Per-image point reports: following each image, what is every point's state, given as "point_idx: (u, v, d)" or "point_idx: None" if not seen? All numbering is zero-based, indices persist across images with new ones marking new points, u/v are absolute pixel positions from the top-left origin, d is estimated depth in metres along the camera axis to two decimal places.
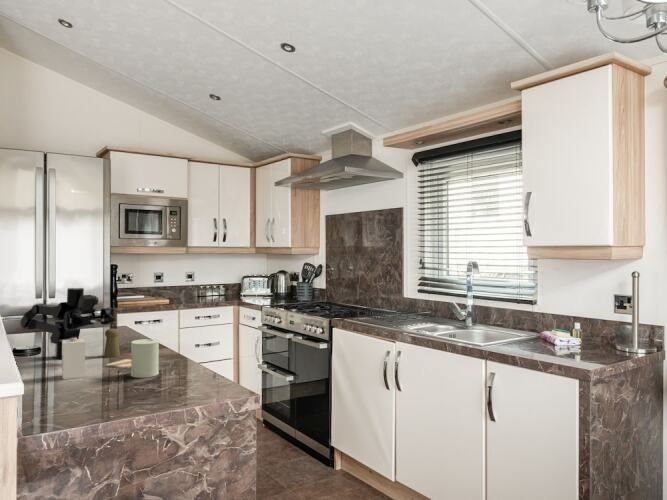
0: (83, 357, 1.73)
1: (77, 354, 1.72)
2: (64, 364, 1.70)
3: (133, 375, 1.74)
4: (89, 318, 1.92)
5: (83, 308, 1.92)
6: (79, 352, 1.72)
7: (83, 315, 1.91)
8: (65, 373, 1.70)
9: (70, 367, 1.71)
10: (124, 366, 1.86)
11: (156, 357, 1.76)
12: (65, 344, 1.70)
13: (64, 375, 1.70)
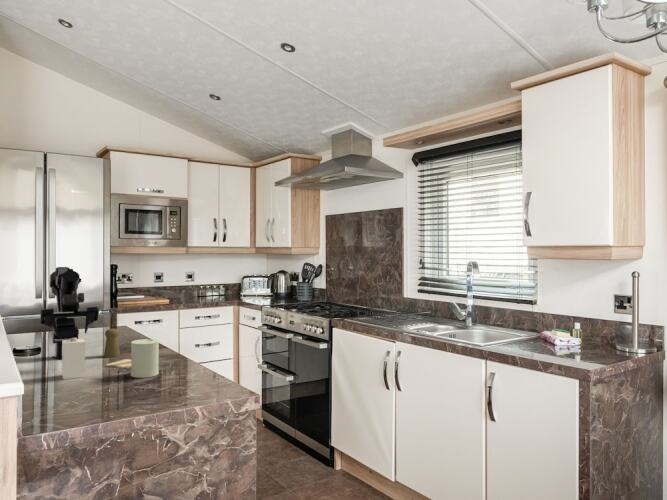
0: (83, 357, 1.73)
1: (77, 354, 1.72)
2: (64, 364, 1.70)
3: (133, 375, 1.74)
4: (68, 316, 1.85)
5: (65, 305, 1.84)
6: (79, 352, 1.72)
7: (62, 313, 1.84)
8: (65, 373, 1.70)
9: (70, 367, 1.71)
10: (124, 366, 1.86)
11: (156, 357, 1.76)
12: (65, 344, 1.70)
13: (64, 375, 1.70)
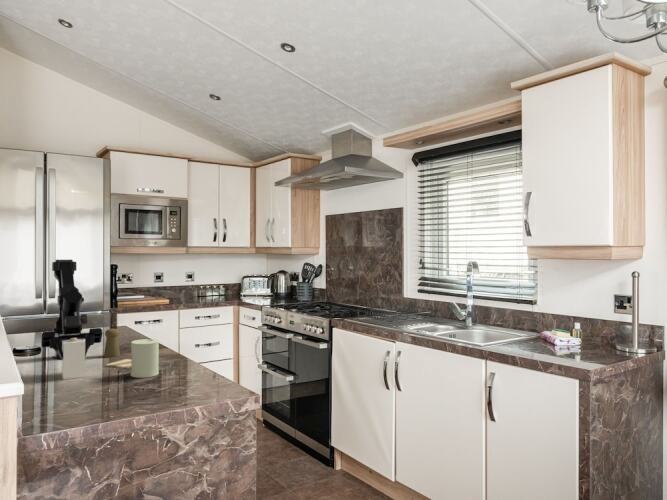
0: (83, 357, 1.73)
1: (77, 354, 1.72)
2: (64, 364, 1.70)
3: (133, 375, 1.74)
4: None
5: (67, 327, 1.76)
6: (79, 352, 1.72)
7: (64, 335, 1.76)
8: (65, 373, 1.70)
9: (70, 367, 1.71)
10: (124, 366, 1.86)
11: (155, 357, 1.76)
12: (65, 344, 1.70)
13: (64, 375, 1.70)
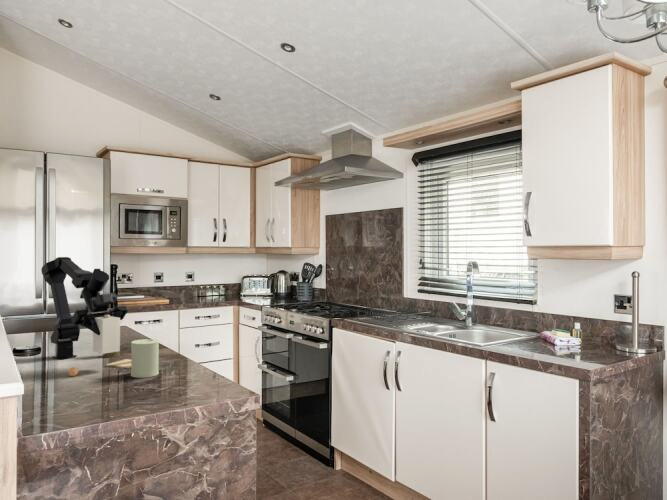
0: (118, 332, 1.83)
1: (113, 330, 1.81)
2: (103, 339, 1.79)
3: (133, 375, 1.74)
4: (99, 316, 1.85)
5: (98, 305, 1.83)
6: (115, 328, 1.82)
7: (95, 313, 1.83)
8: (104, 348, 1.79)
9: (108, 342, 1.80)
10: (124, 366, 1.86)
11: (156, 357, 1.76)
12: (104, 320, 1.79)
13: (103, 350, 1.79)
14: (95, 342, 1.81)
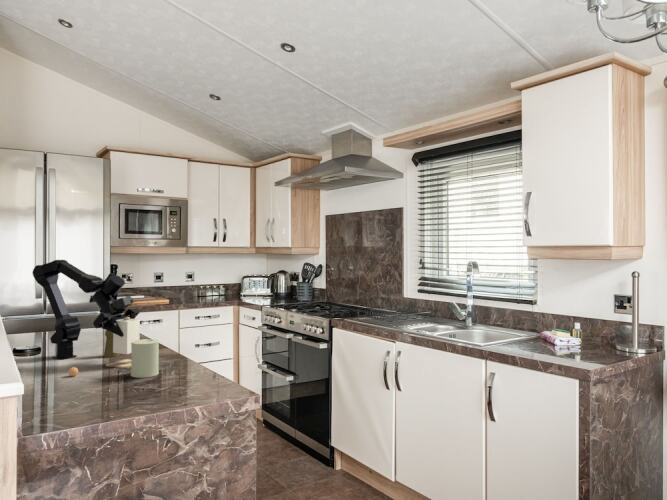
0: (138, 333, 1.93)
1: (135, 331, 1.92)
2: (127, 340, 1.88)
3: (133, 375, 1.74)
4: (117, 319, 1.93)
5: (117, 308, 1.91)
6: (136, 329, 1.92)
7: (114, 316, 1.91)
8: (128, 348, 1.88)
9: None
10: (124, 366, 1.86)
11: (156, 357, 1.76)
12: (128, 322, 1.88)
13: (127, 350, 1.88)
14: (116, 343, 1.89)
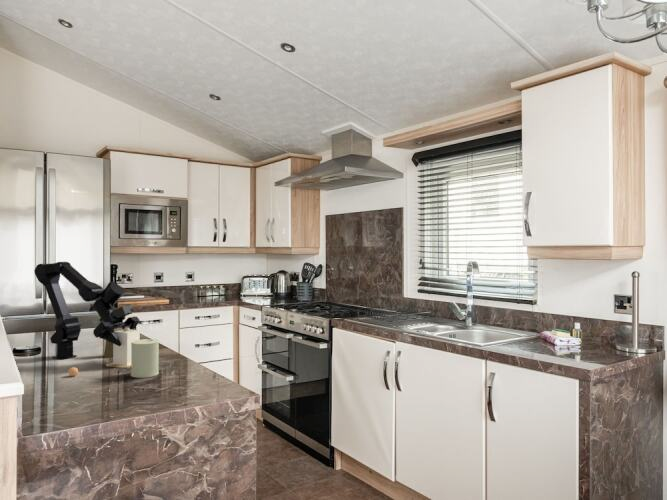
0: None
1: None
2: (127, 351, 1.88)
3: (133, 375, 1.74)
4: (117, 327, 1.93)
5: (117, 317, 1.91)
6: None
7: (114, 324, 1.91)
8: (128, 359, 1.88)
9: None
10: (124, 366, 1.86)
11: (156, 357, 1.76)
12: (128, 333, 1.88)
13: (127, 361, 1.88)
14: (116, 355, 1.89)
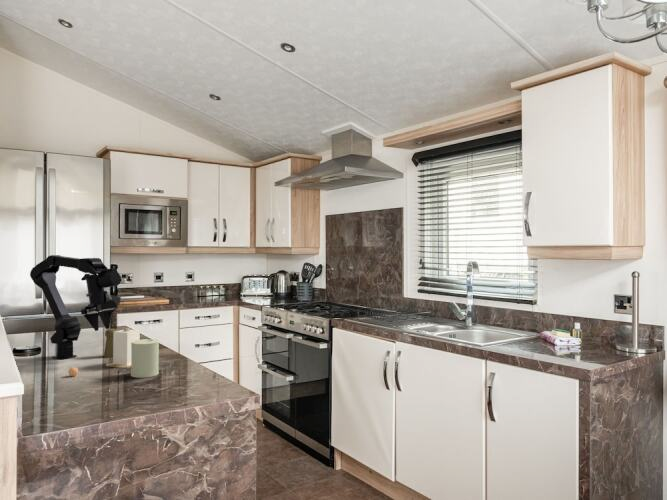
0: None
1: None
2: (127, 351, 1.88)
3: (133, 375, 1.74)
4: None
5: None
6: None
7: None
8: (128, 359, 1.88)
9: None
10: (124, 366, 1.86)
11: (156, 357, 1.76)
12: (128, 333, 1.88)
13: (127, 361, 1.88)
14: (116, 355, 1.89)
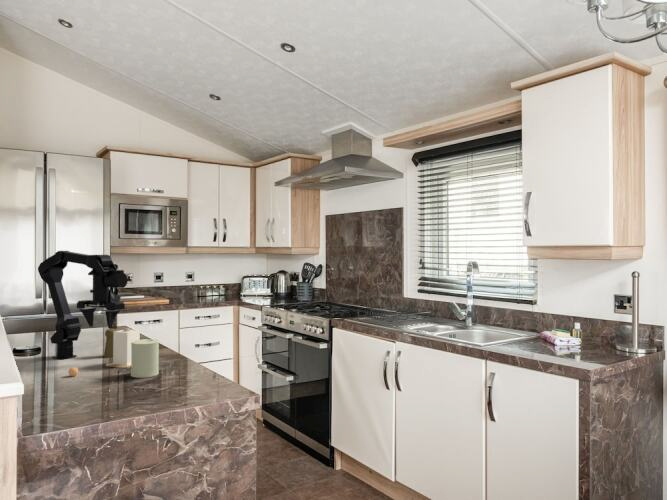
0: None
1: None
2: (127, 351, 1.88)
3: (133, 375, 1.74)
4: None
5: None
6: None
7: None
8: (128, 359, 1.88)
9: None
10: (124, 366, 1.86)
11: (156, 357, 1.76)
12: (128, 333, 1.88)
13: (127, 361, 1.88)
14: (116, 355, 1.89)
